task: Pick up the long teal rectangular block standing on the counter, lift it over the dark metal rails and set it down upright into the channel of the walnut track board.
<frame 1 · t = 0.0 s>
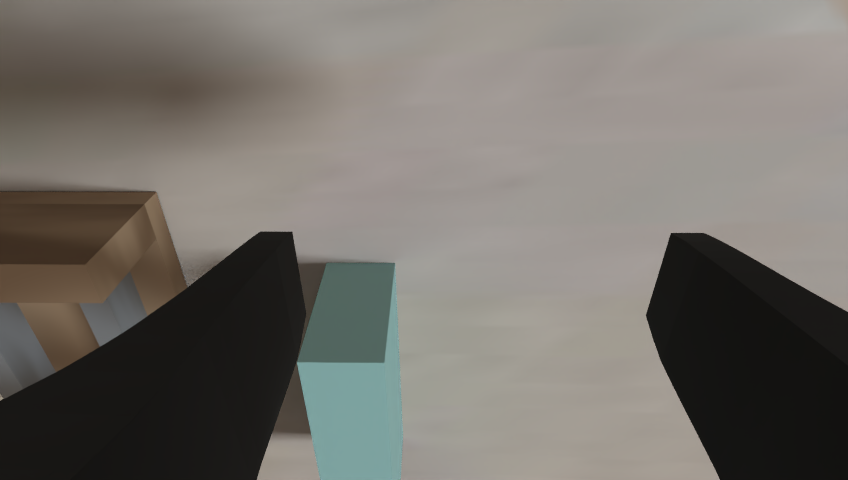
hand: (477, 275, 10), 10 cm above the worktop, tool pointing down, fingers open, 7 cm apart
track board: (112, 359, 26), on the worktop
long teal rectangular block: (369, 358, 26), on the worktop
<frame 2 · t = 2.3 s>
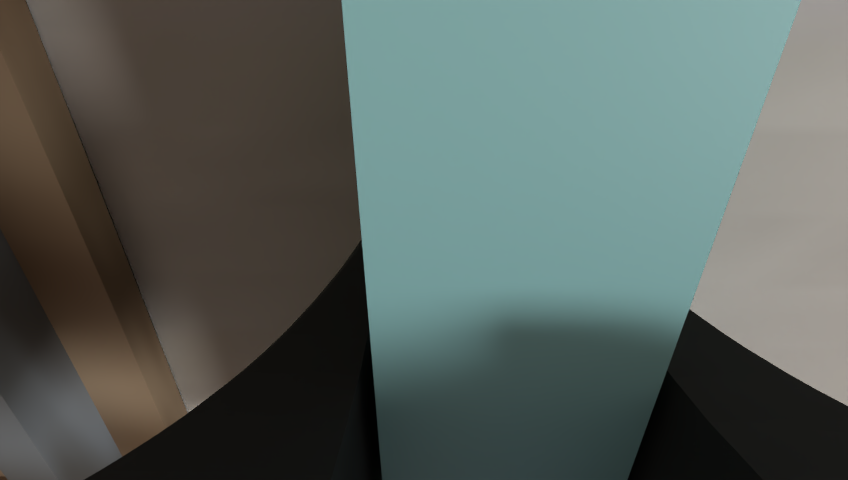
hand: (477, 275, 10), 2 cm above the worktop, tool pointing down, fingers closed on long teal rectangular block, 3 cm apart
long teal rectangular block: (471, 231, 11), on the worktop, touching gripper
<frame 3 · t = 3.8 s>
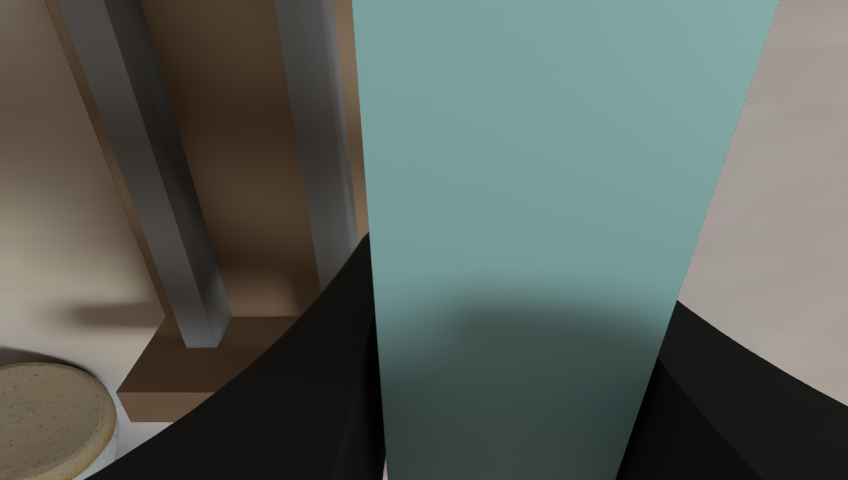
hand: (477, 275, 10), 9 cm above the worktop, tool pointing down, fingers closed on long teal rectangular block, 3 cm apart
track board: (254, 125, 18), on the worktop
ceramic mug: (43, 398, 26), on the worktop
long teal rectangular block: (472, 227, 12), point 7 cm above the worktop, touching gripper
when the fingers open (4 cm above the worktop, at t = 5.7 s): long teal rectangular block stays where it is, resting on track board.
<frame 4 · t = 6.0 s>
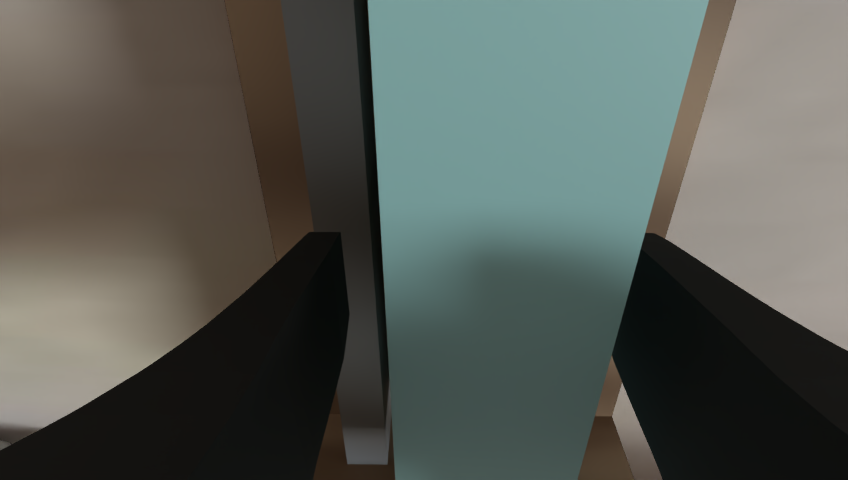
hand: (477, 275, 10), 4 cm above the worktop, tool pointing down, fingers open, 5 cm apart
track board: (466, 184, 13), on the worktop
long teal rectangular block: (468, 212, 13), point 1 cm above the worktop, touching track board
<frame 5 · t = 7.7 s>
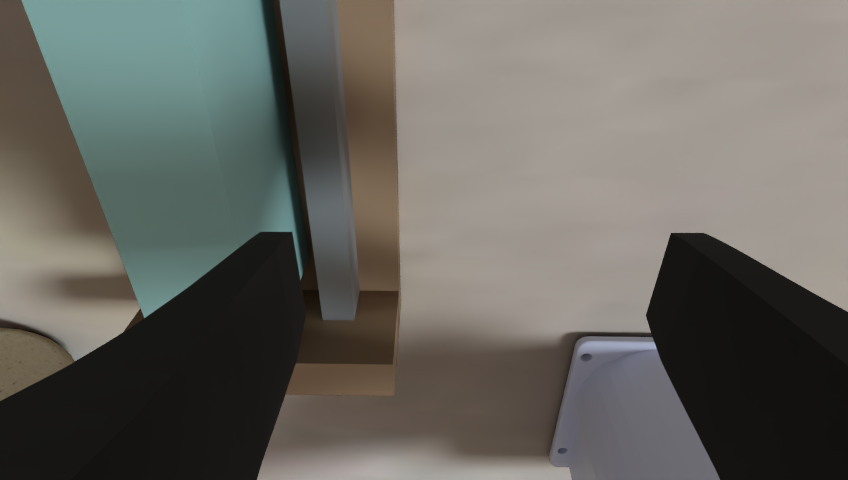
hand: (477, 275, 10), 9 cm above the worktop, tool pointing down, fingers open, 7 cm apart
track board: (249, 89, 17), on the worktop
ceramic mug: (7, 367, 26), on the worktop
long teal rectangular block: (241, 106, 17), point 1 cm above the worktop, touching track board
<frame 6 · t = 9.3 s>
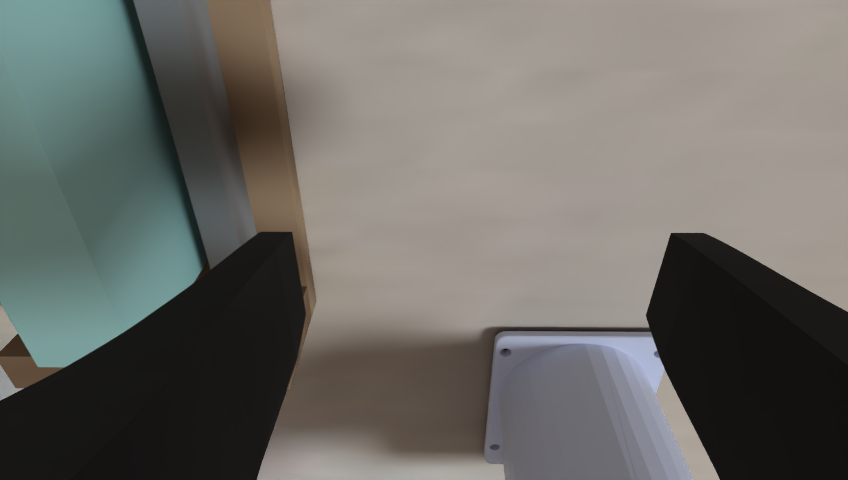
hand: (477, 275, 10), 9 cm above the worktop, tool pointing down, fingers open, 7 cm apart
track board: (137, 85, 17), on the worktop
long teal rectangular block: (125, 102, 17), point 1 cm above the worktop, touching track board
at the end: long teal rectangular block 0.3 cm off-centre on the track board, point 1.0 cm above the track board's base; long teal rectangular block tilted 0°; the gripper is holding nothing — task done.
